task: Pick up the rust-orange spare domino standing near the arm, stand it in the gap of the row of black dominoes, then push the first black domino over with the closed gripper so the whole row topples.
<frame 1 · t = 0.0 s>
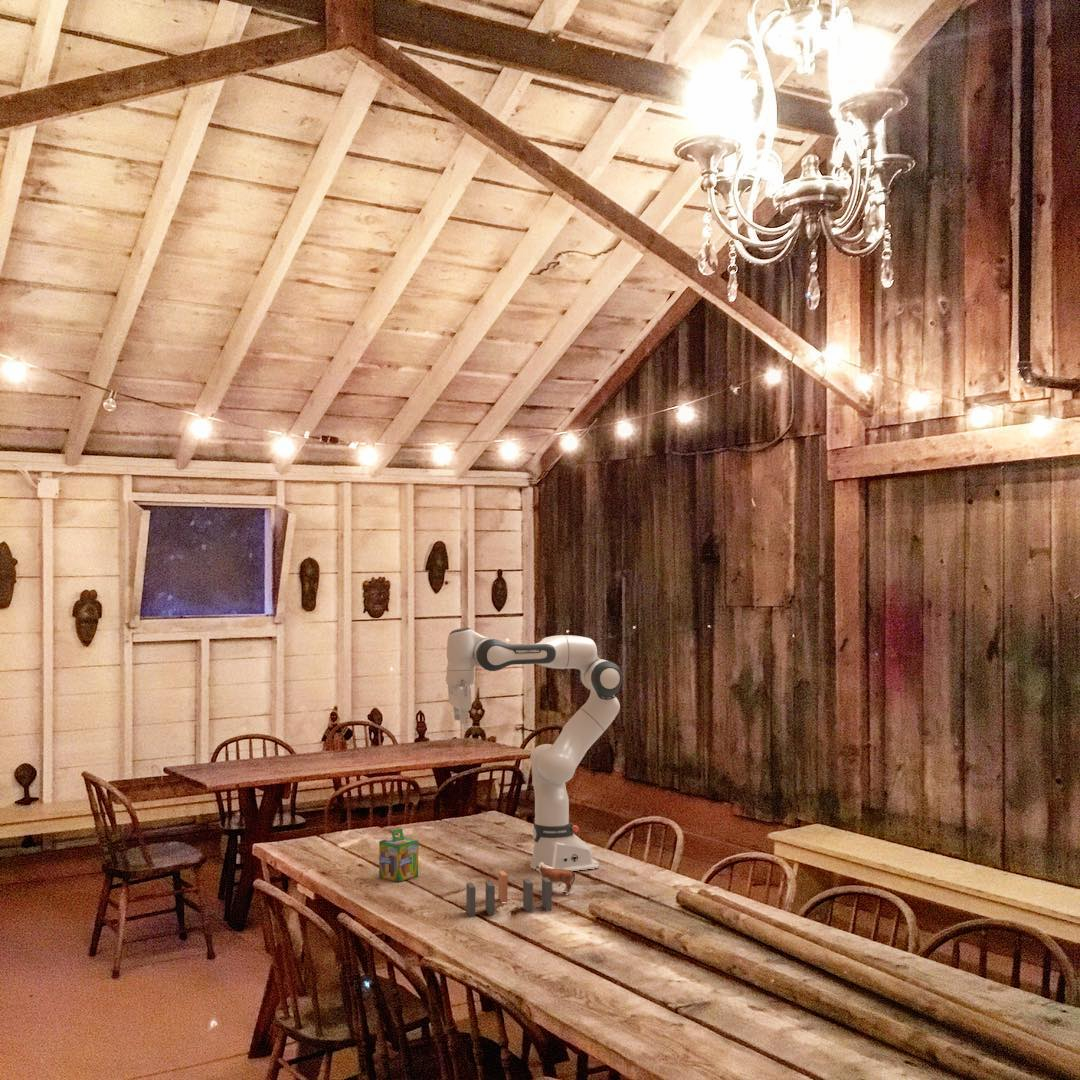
hand: (460, 722, 348), 48 cm above the table, tool pointing down, fingers open, 8 cm apart
domino 1: (546, 908, 309), on the table
domino 4: (490, 912, 305), on the table
domino 5: (470, 914, 304), on the table
domino 2: (527, 909, 308), on the table
spare domino: (502, 900, 316), on the table
chalk box: (398, 878, 341), on the table
bull figurine: (554, 892, 325), on the table
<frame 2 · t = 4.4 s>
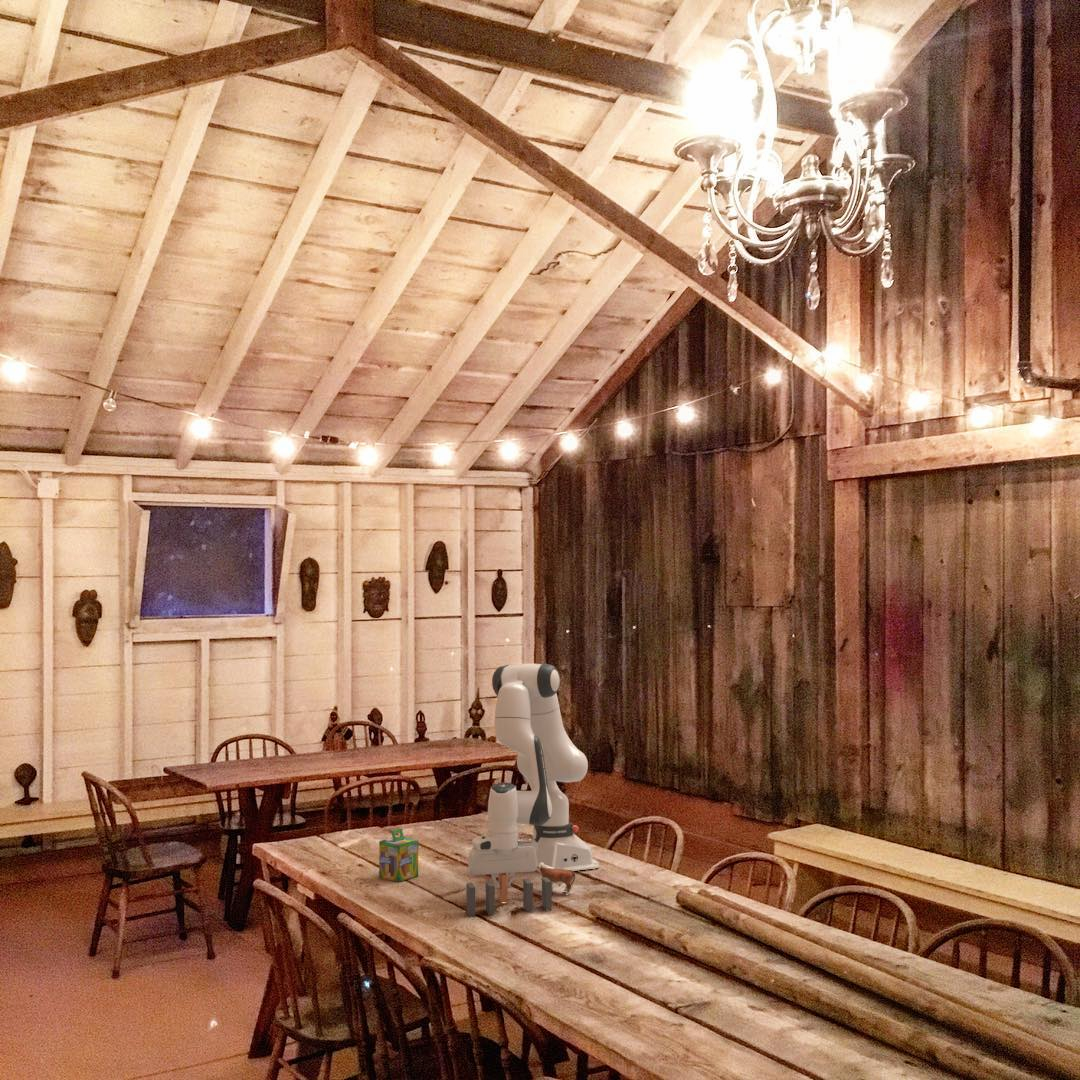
hand: (502, 888, 316), 4 cm above the table, tool pointing down, fingers closed on spare domino, 2 cm apart
spare domino: (502, 900, 316), on the table, touching gripper
everything else where it was.
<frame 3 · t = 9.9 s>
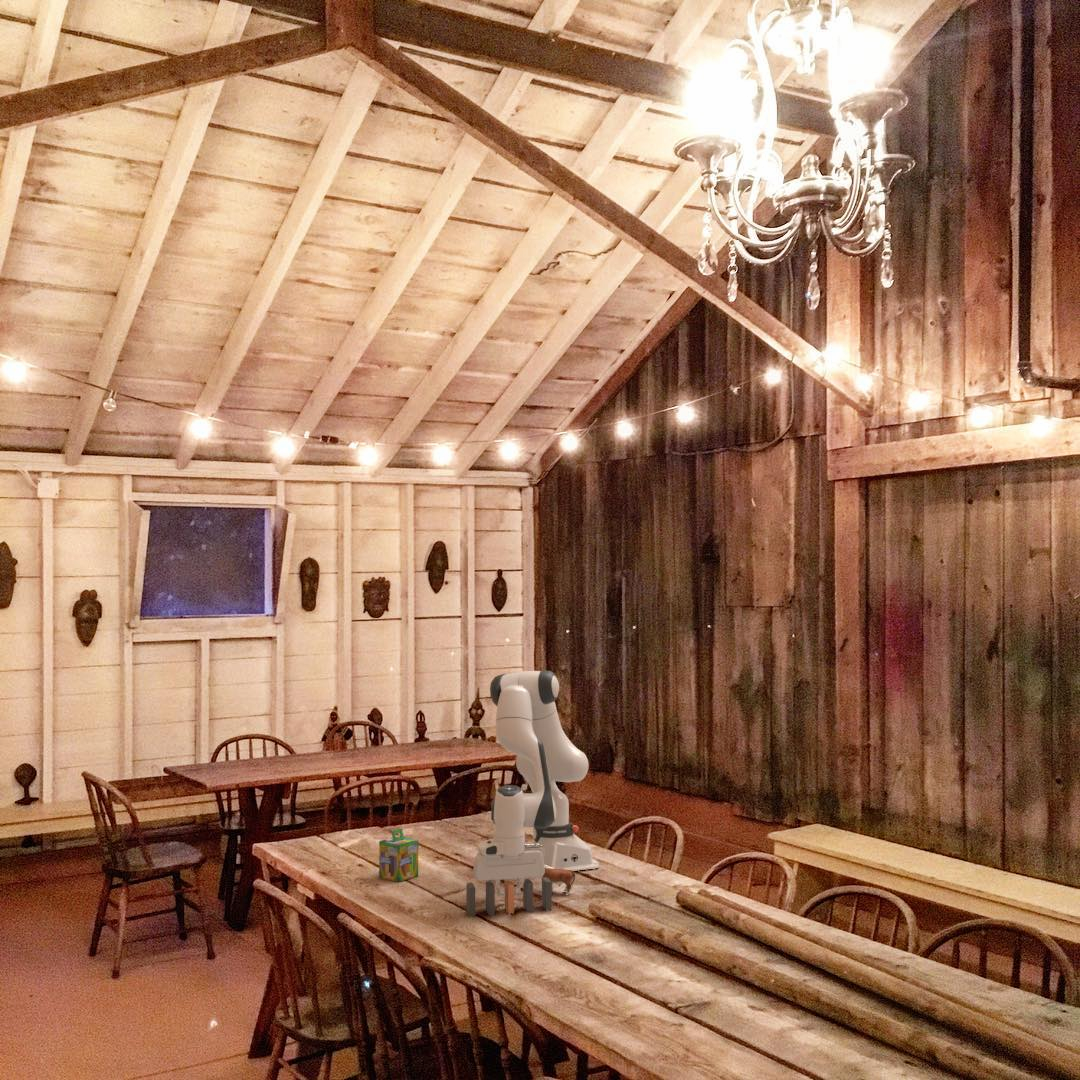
hand: (509, 894, 307), 5 cm above the table, tool pointing down, fingers open, 3 cm apart
spare domino: (509, 911, 307), on the table
everything else where it was.
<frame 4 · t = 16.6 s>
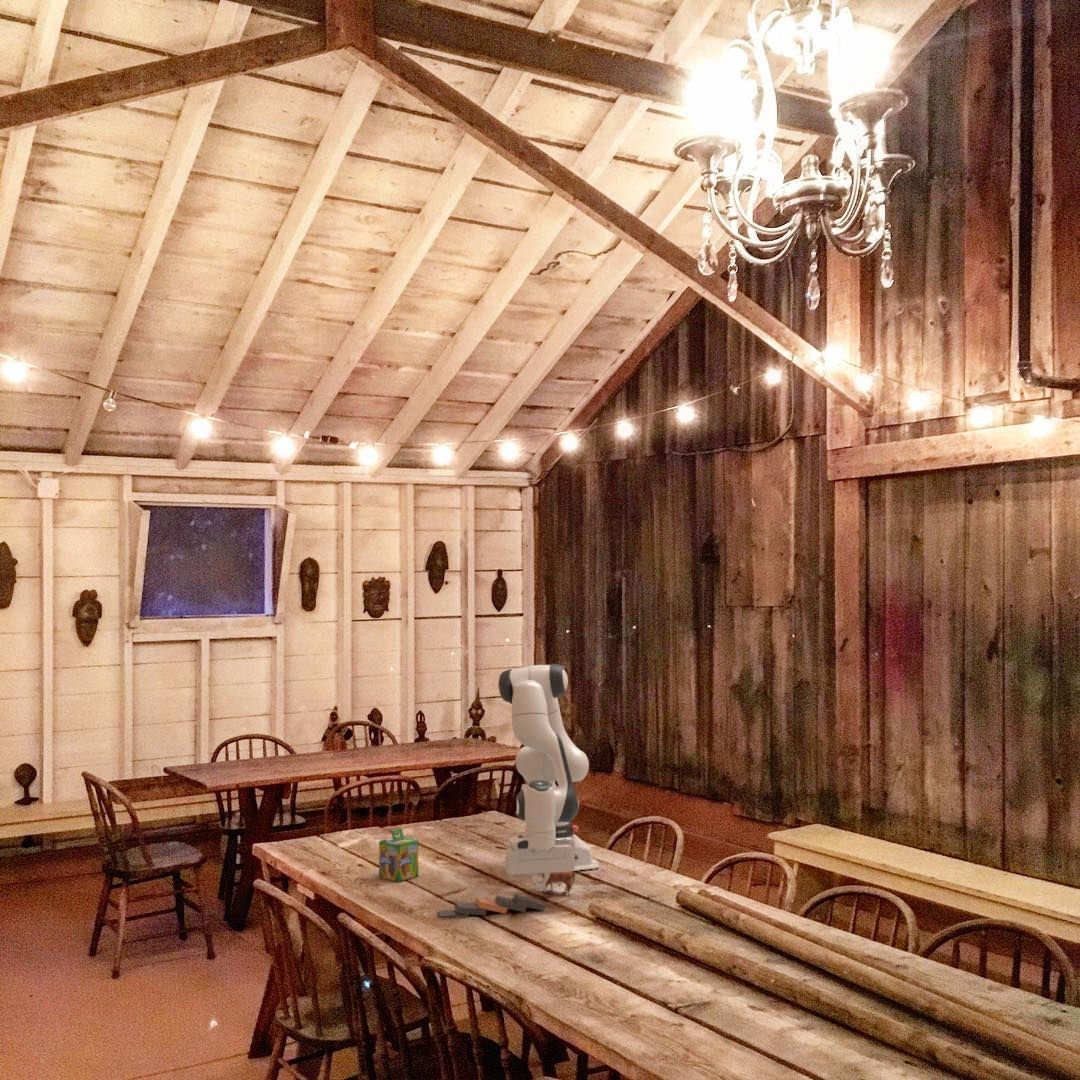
hand: (540, 888, 309), 6 cm above the table, tool pointing down, fingers closed
domino 1: (541, 905, 309), point 1 cm above the table, tilted 73°, touching domino 2
domino 4: (484, 910, 305), point 1 cm above the table, tilted 81°, touching domino 5, spare domino
domino 5: (467, 914, 303), on the table, tilted 90°, touching domino 4
domino 2: (523, 907, 308), point 1 cm above the table, tilted 73°, touching domino 1, spare domino
spare domino: (505, 908, 306), point 1 cm above the table, tilted 74°, touching domino 2, domino 4
everything else where it was.
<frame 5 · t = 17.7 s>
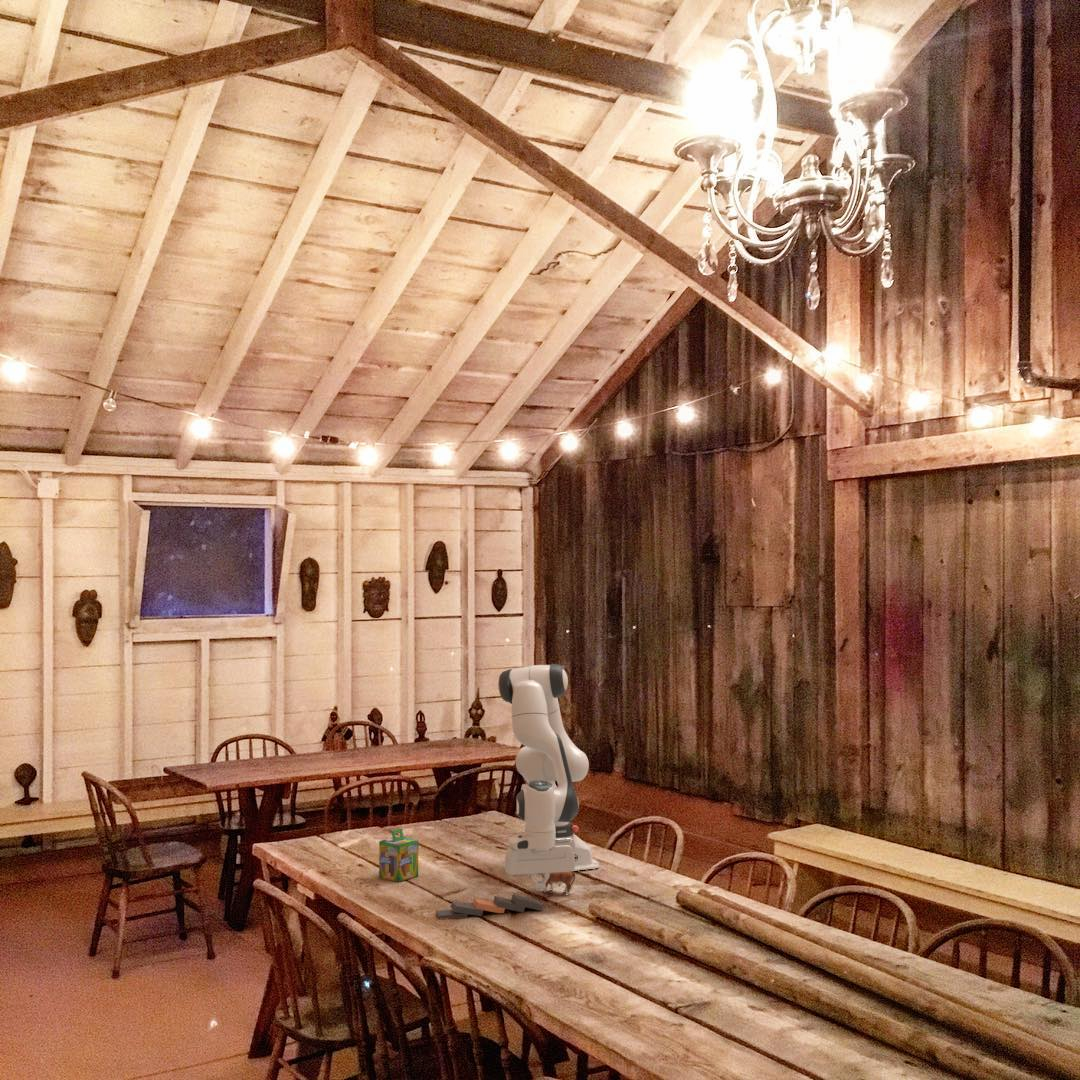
hand: (539, 888, 309), 6 cm above the table, tool pointing down, fingers closed
domino 4: (480, 910, 304), point 1 cm above the table, tilted 76°, touching domino 5, spare domino
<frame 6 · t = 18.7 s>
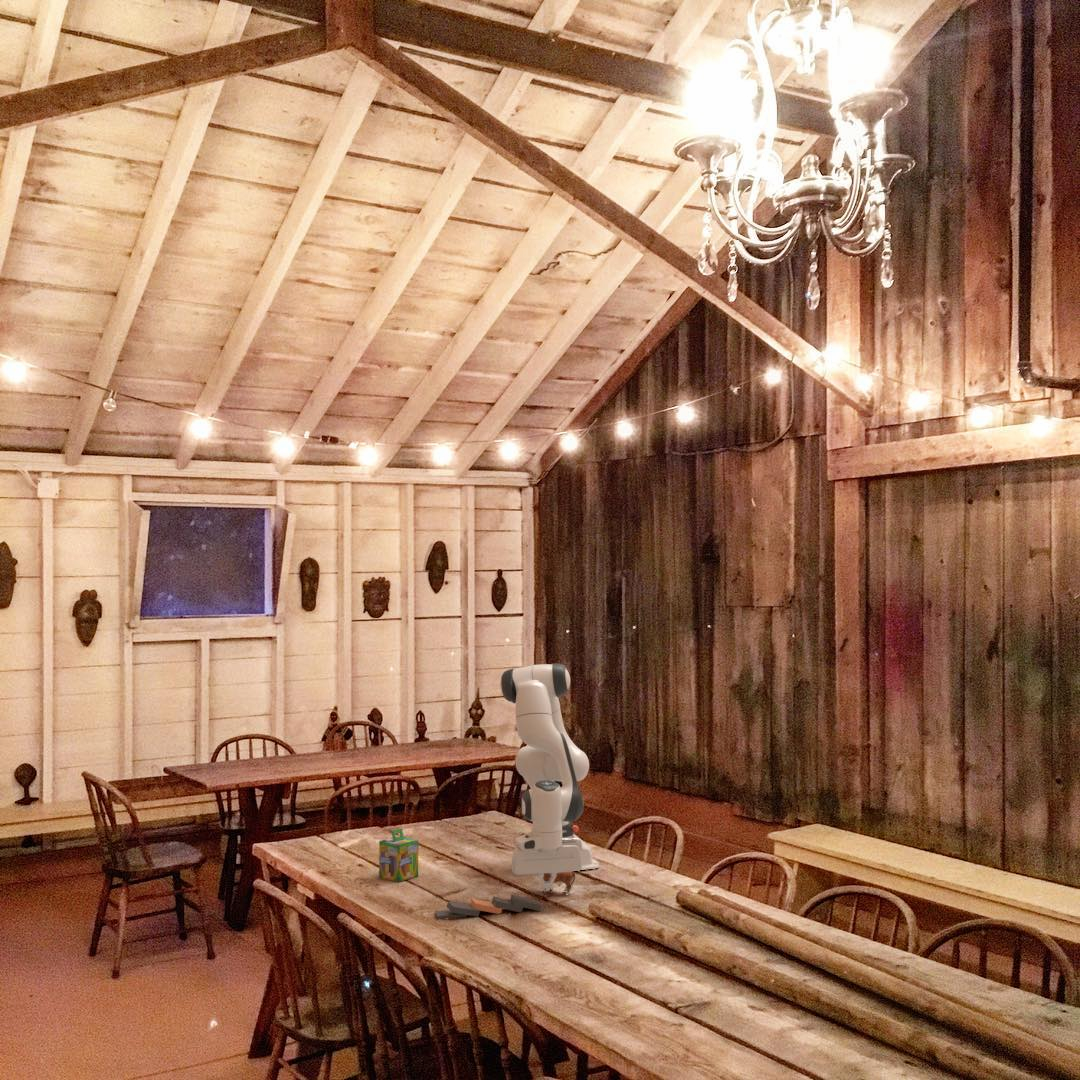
hand: (546, 888, 310), 5 cm above the table, tool pointing down, fingers closed
domino 4: (476, 911, 303), point 1 cm above the table, tilted 75°, touching domino 5, spare domino
domino 2: (520, 907, 307), point 1 cm above the table, tilted 74°, touching domino 1
spare domino: (499, 908, 306), point 1 cm above the table, tilted 75°, touching domino 4
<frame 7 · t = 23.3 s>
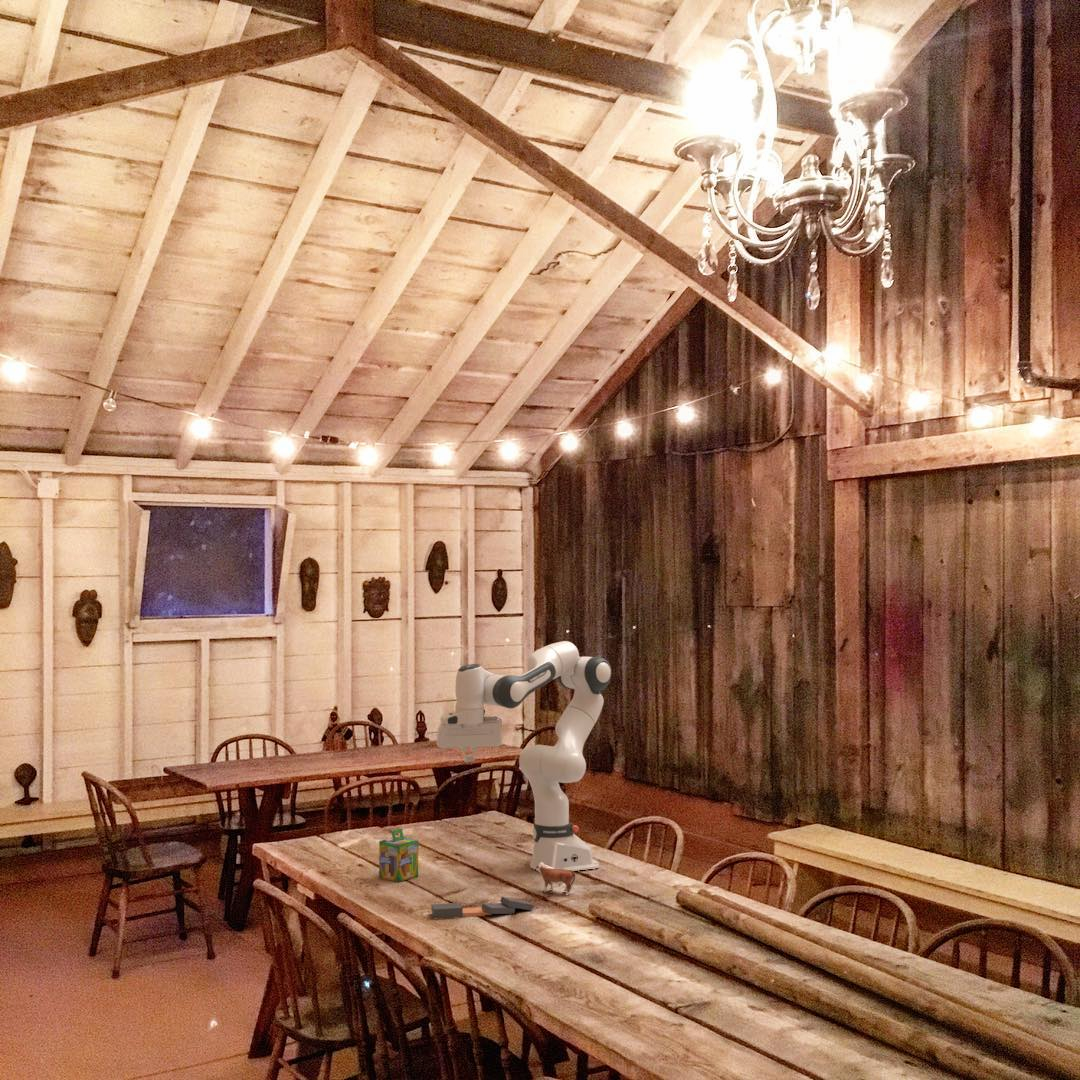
hand: (469, 761, 336), 37 cm above the table, tool pointing down, fingers closed
domino 1: (528, 905, 309), point 1 cm above the table, tilted 74°, touching domino 2
domino 4: (461, 908, 303), point 2 cm above the table, tilted 90°
domino 5: (461, 913, 303), on the table, tilted 90°
domino 2: (510, 908, 306), point 1 cm above the table, tilted 81°, touching domino 1
spare domino: (489, 912, 305), on the table, tilted 89°
everything else where it was.
at the end: domino 5 tilted 90°; spare domino tilted 90°; domino 1 tilted 74° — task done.
